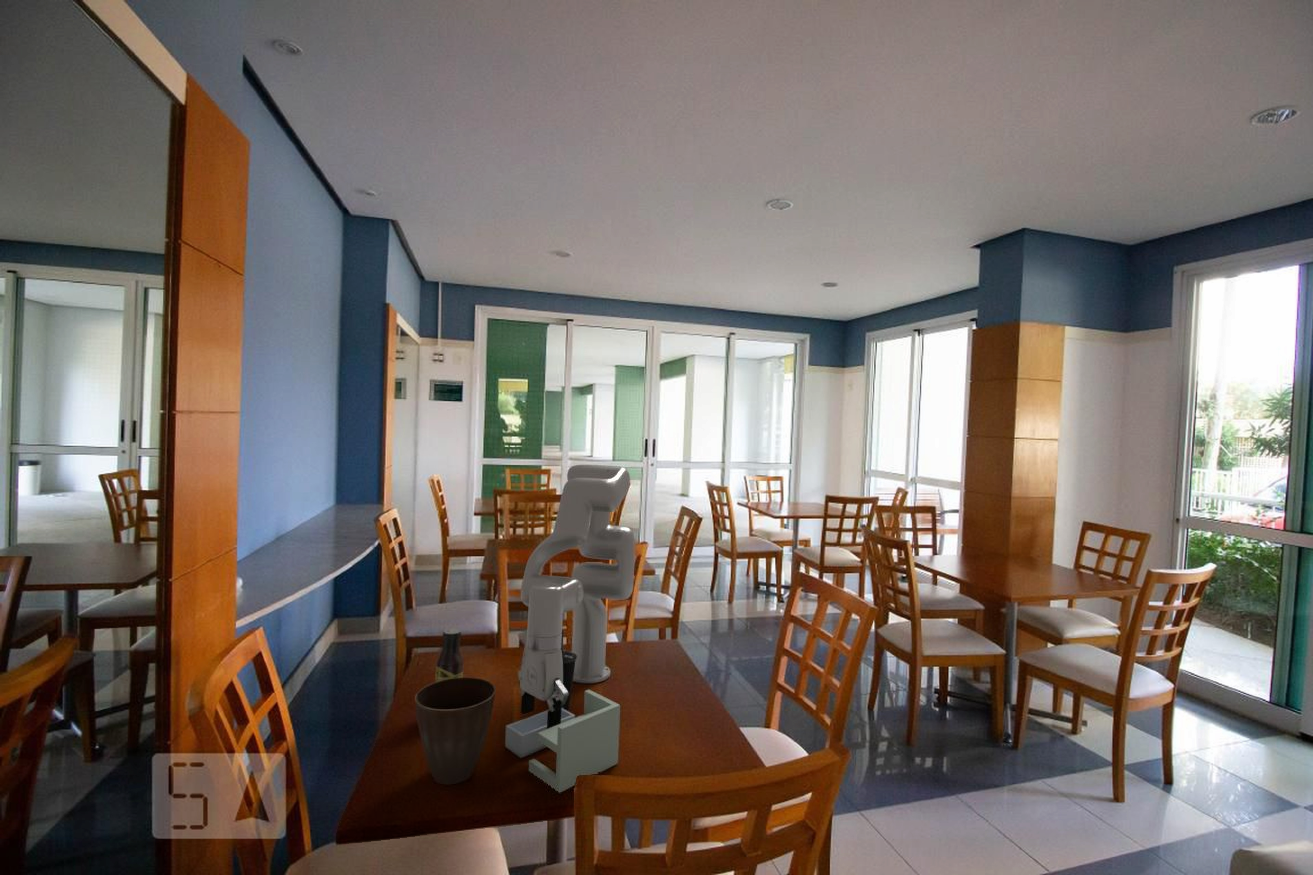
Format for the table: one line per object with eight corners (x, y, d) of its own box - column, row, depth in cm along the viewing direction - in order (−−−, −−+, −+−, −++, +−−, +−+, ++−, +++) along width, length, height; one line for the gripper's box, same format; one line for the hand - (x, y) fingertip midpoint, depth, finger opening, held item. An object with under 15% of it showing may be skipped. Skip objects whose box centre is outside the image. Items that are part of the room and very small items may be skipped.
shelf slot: (528, 770, 116) (531, 710, 116) (586, 744, 127) (589, 689, 127) (559, 792, 109) (561, 728, 110) (617, 763, 120) (620, 704, 120)
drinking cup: (581, 713, 142) (584, 630, 142) (555, 723, 136) (559, 637, 136) (561, 702, 147) (564, 623, 147) (536, 712, 141) (539, 629, 142)
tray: (520, 757, 121) (521, 736, 121) (505, 746, 125) (505, 725, 125) (574, 735, 131) (575, 715, 131) (557, 725, 135) (558, 705, 135)
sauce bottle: (428, 713, 139) (431, 629, 139) (452, 705, 143) (456, 624, 143) (441, 722, 134) (445, 636, 134) (466, 714, 139) (469, 630, 139)
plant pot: (411, 804, 104) (415, 714, 105) (410, 761, 118) (414, 682, 118) (497, 787, 110) (500, 702, 110) (486, 748, 124) (490, 673, 124)
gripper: (507, 634, 131) (503, 711, 131) (554, 655, 119) (549, 739, 119) (535, 628, 137) (531, 702, 136) (582, 647, 125) (578, 728, 124)
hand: (540, 719), depth 127 cm, fingers open, 9 cm apart
